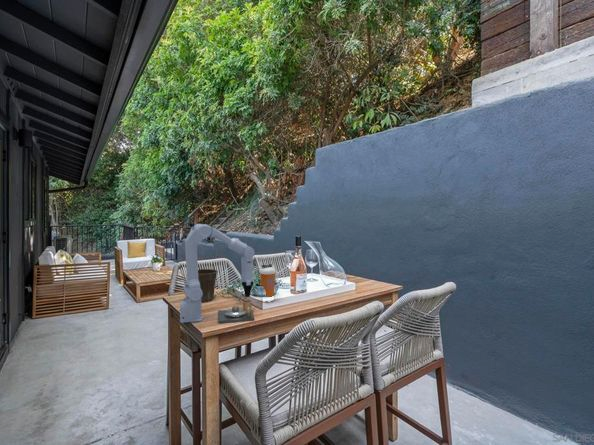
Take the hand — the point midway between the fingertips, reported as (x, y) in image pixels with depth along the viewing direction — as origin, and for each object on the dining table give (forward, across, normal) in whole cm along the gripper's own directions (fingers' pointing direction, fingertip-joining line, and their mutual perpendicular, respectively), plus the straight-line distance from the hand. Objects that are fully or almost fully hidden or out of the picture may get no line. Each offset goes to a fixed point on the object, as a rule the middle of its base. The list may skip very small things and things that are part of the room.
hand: (247, 296), depth 163 cm
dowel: (+5, -15, +1) cm, 16 cm away
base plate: (+7, -10, +7) cm, 13 cm away
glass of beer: (+7, +13, -12) cm, 20 cm away
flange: (+5, -9, +5) cm, 11 cm away
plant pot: (+7, +25, +23) cm, 35 cm away
